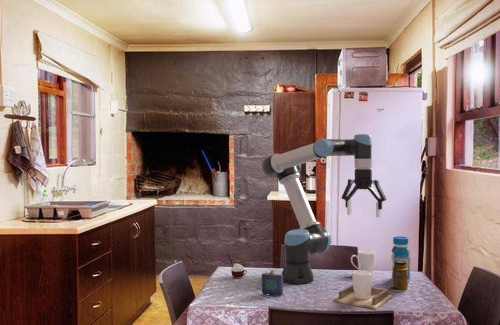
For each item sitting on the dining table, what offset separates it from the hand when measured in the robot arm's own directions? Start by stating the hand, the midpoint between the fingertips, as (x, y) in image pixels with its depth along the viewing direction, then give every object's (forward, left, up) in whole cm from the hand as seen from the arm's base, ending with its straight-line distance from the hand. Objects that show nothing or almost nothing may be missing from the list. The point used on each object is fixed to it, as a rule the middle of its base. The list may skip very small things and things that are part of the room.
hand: (363, 215), depth 205 cm
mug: (-8, +18, -32) cm, 37 cm away
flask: (-27, -34, -32) cm, 54 cm away
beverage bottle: (+10, +20, -32) cm, 39 cm away
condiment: (+14, +5, -32) cm, 35 cm away
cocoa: (-57, -20, -32) cm, 68 cm away
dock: (+7, -18, -32) cm, 37 cm away
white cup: (+7, -18, -31) cm, 36 cm away
